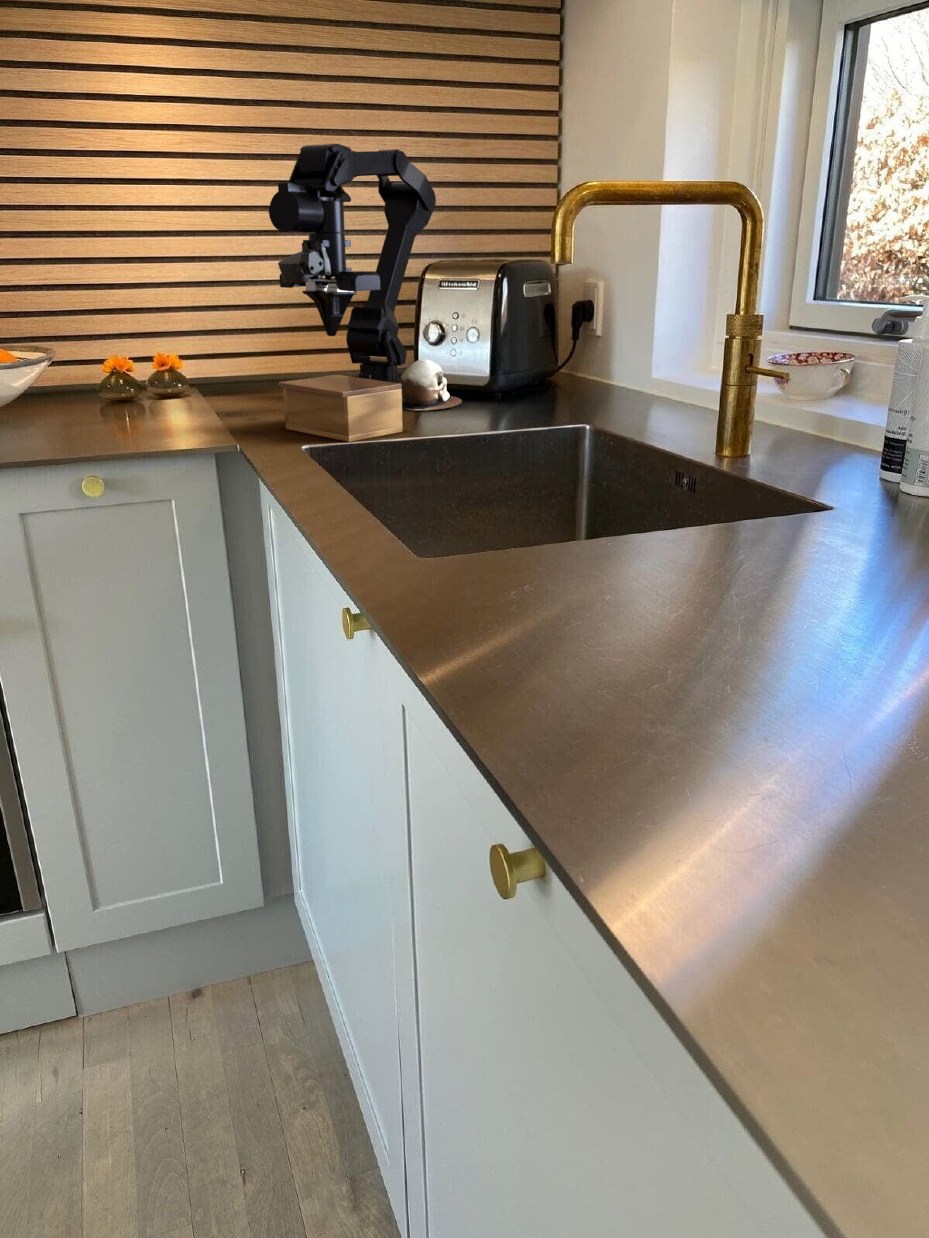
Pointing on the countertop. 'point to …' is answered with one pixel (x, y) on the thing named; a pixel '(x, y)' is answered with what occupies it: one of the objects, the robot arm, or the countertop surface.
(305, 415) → the chest
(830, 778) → the countertop surface
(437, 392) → the skull
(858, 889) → the countertop surface
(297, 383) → the lid
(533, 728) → the countertop surface
